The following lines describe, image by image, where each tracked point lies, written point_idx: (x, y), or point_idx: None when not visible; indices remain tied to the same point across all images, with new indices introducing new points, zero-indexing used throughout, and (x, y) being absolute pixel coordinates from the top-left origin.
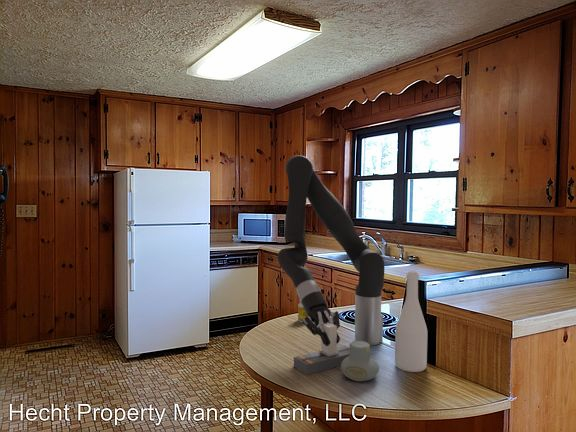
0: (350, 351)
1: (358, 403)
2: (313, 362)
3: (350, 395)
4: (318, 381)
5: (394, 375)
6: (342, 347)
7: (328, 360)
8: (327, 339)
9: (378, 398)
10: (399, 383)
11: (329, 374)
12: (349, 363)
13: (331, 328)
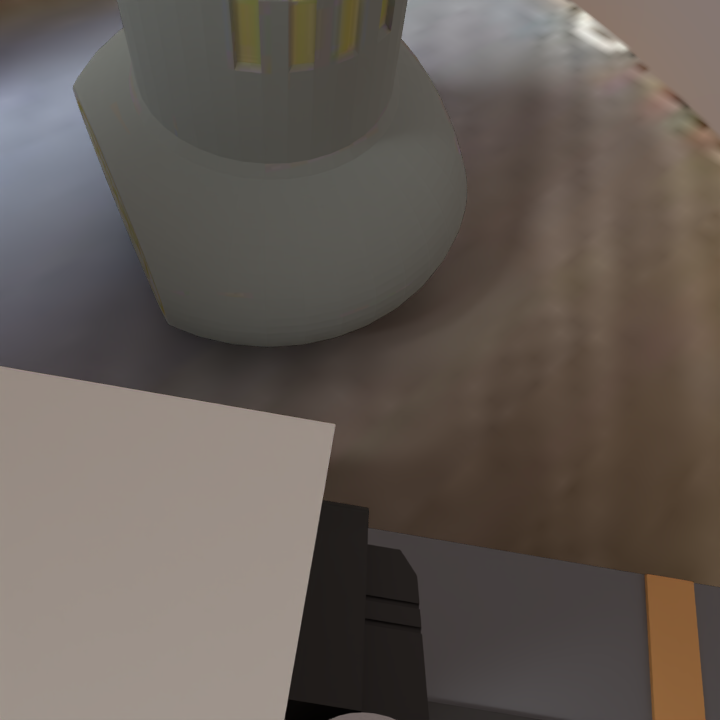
0: (392, 38)
1: (595, 44)
2: (629, 594)
3: (569, 118)
4: (650, 410)
5: (16, 75)
6: None
7: (378, 532)
8: (360, 550)
9: (441, 4)
10: None
11: (456, 446)
12: (436, 118)
13: (216, 428)
